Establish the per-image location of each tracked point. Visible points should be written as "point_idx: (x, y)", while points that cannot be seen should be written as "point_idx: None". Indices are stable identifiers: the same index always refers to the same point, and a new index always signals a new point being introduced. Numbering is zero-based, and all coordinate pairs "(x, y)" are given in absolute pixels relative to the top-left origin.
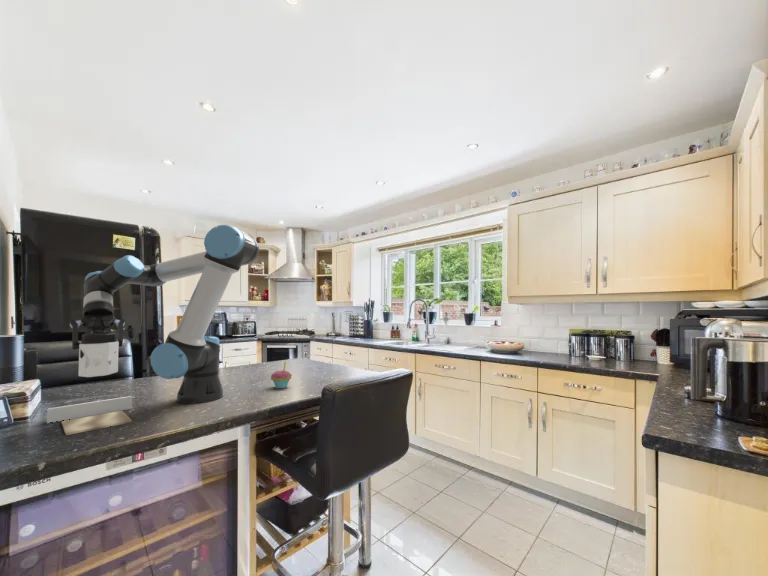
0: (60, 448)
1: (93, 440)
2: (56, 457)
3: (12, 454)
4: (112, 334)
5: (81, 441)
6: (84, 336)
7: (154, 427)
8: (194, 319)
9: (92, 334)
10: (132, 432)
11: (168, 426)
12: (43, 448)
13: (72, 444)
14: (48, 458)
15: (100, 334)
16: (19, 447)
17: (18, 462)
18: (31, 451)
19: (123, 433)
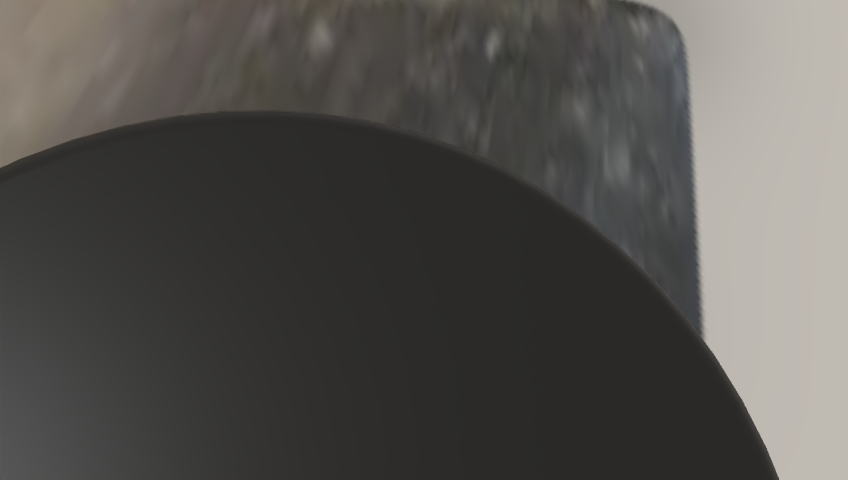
0: (534, 111)
1: (416, 107)
2: (556, 13)
3: (678, 193)
4: (4, 167)
5: (456, 137)
6: (740, 428)
7: (152, 66)
8: None
9: (549, 458)
10: (258, 77)
11: (99, 23)
12: (584, 172)
13: (491, 126)
14: (578, 26)
15: (380, 134)
16: (660, 278)
17: (658, 70)
18: (622, 170)
19: (292, 98)
